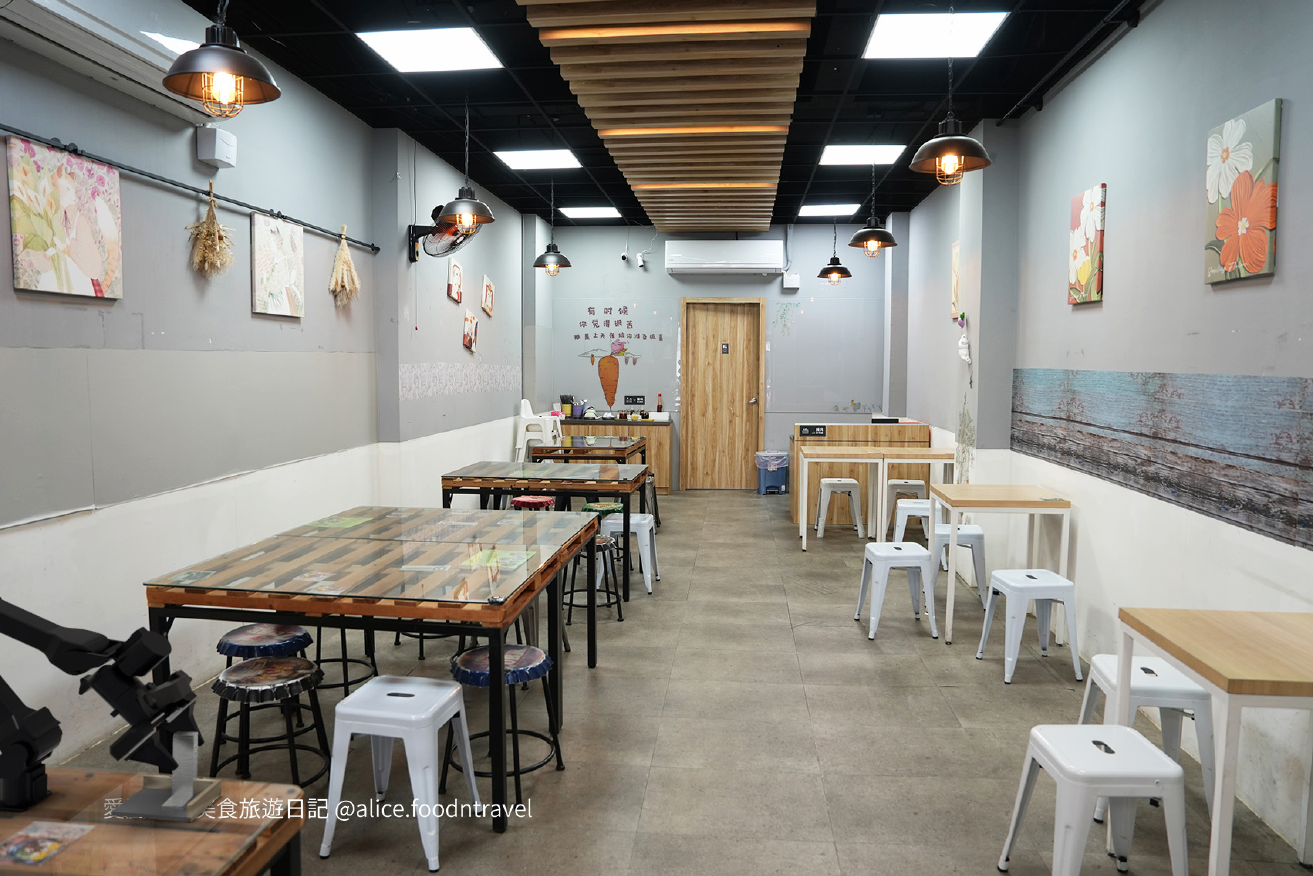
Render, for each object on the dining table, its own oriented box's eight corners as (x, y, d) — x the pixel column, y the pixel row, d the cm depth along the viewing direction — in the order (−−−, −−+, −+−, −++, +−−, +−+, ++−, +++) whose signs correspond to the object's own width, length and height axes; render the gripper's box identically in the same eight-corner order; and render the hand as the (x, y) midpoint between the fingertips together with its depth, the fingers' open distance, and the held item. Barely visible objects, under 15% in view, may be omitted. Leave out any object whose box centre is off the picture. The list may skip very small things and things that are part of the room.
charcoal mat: (111, 816, 140) (111, 811, 140) (146, 790, 149) (146, 785, 149) (191, 822, 140) (191, 817, 140) (221, 796, 149) (221, 791, 149)
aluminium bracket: (196, 797, 146) (197, 732, 146) (182, 812, 141) (183, 744, 141) (176, 797, 146) (177, 731, 145) (161, 811, 141) (162, 743, 140)
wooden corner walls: (111, 816, 140) (111, 799, 140) (146, 790, 149) (146, 774, 149) (191, 822, 140) (191, 805, 140) (221, 796, 149) (221, 780, 149)
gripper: (129, 682, 134) (198, 749, 136) (187, 645, 153) (246, 705, 154) (78, 727, 134) (147, 794, 136) (142, 685, 153) (202, 744, 154)
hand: (189, 756), depth 145 cm, fingers open, 9 cm apart
